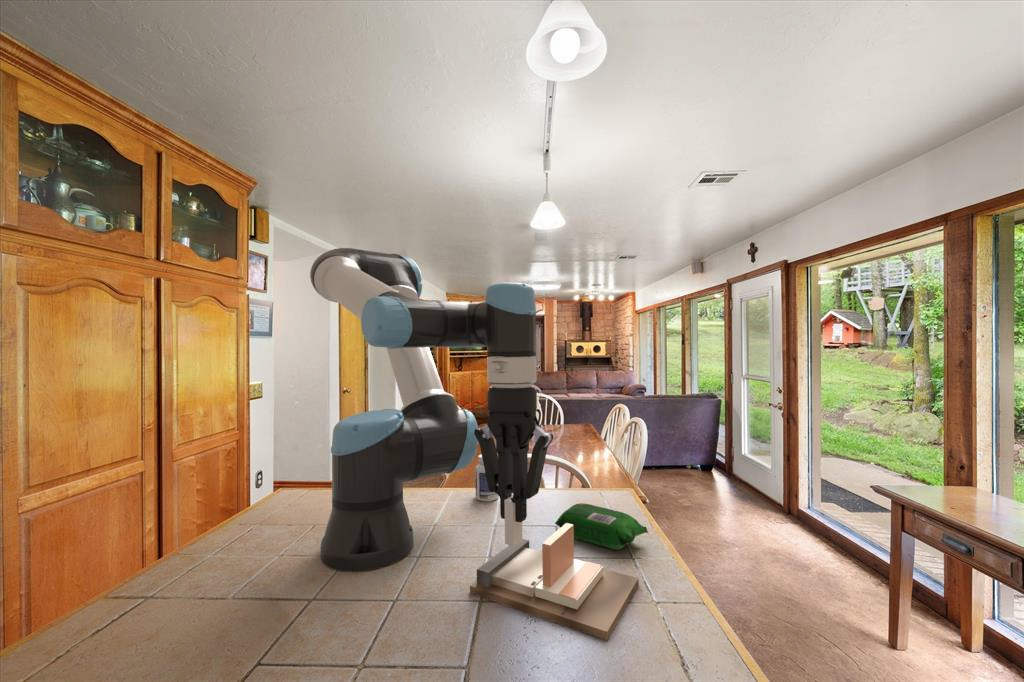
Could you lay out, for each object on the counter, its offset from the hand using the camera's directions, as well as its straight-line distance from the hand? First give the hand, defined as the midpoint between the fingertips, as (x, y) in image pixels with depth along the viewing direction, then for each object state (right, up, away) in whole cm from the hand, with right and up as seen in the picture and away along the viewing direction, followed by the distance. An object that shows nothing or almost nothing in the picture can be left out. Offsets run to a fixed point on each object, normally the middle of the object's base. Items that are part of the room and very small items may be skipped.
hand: (513, 541), depth 66 cm
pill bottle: (-6, -6, +35) cm, 36 cm away
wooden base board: (+6, -5, -4) cm, 9 cm away
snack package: (+16, -6, +13) cm, 21 cm away
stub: (+8, -4, -5) cm, 10 cm away
